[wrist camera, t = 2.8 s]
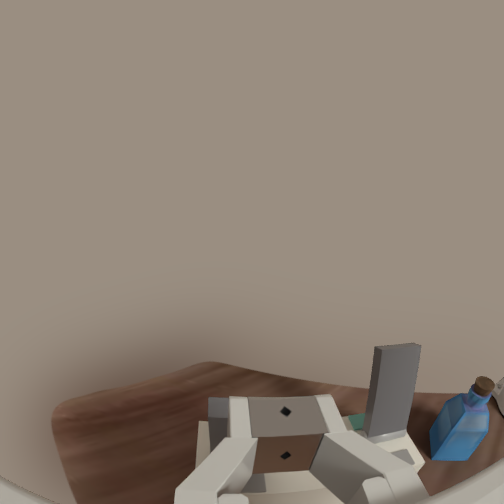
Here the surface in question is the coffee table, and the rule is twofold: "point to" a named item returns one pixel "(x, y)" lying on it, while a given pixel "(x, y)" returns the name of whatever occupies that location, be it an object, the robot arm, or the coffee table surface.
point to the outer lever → (217, 420)
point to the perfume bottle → (462, 423)
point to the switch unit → (303, 482)
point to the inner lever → (391, 392)
